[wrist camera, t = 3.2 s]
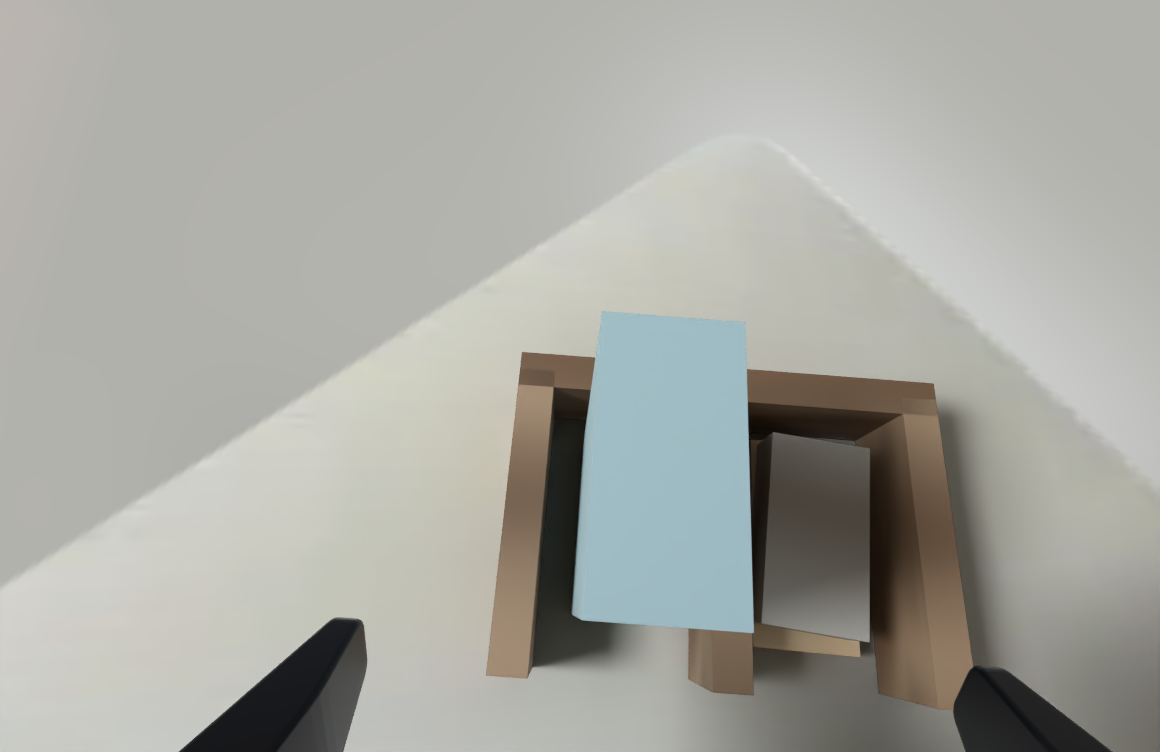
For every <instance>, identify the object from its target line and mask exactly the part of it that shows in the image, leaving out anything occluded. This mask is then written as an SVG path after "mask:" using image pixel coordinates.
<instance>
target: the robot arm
mask: <svg viewBox="0 0 1160 752" xmlns="http://www.w3.org/2000/svg"><path fill="white" fill-rule="evenodd" d="M366 668H367V651H366V641H365V632H364V625H363V622H362V621H361V620H359V619H353V618H340V617H338V618H334V619H332V620H330V621H329V622H328V623H327V624H325V625H324V626H323V627H322V628H321V629H320V630H318V631H317V632H316V633H315V634H314V635H313V636H312V637H310V638H309V639H308V640H307V641H306V642H305V643H303V644H302V645H301V646H300V647H299V648H298V649H297V650H295V651H294V652H293V653H292V654H291V655H290V656H289V657H287V658H286V659H285V660H284V661H283V662H282V663H280V664H279V665H278V666H277V667H276V668H275V669H274V670H272V671H271V672H270V673H269V674H268V675H267V676H265V677H264V678H263V679H262V680H261V681H260V682H259V683H257V684H256V685H255V686H254V687H253V688H252V689H251V690H249V691H248V692H247V693H246V694H245V695H244V696H242V697H241V698H240V699H239V700H238V701H237V702H236V703H234V704H233V705H232V706H231V707H230V708H229V709H227V710H226V711H225V712H224V713H223V714H222V715H221V716H219V717H218V718H217V719H216V720H215V721H214V722H213V723H211V724H210V725H209V726H208V727H207V728H206V729H204V730H203V731H202V732H201V733H200V734H199V735H198V736H196V737H195V738H194V739H193V740H192V741H191V742H189V743H188V744H187V745H186V746H185V747H184V748H183V749H181V750H180V751H179V752H343V750H344V747H345V743H346V740H347V736H348V733H349V730H350V726H351V723H352V719H353V716H354V712H355V709H356V705H357V702H358V698H359V695H360V691H361V688H362V684H363V681H364V677H365V673H366ZM953 713H954V719H955V723H956V725H957V728H958V731H959V734H960V737H961V740H962V743H963V746H964V749H965V751H966V752H1112V751H1111V750H1109V749H1108V748H1107V747H1106V746H1104V745H1103V744H1102V743H1100V742H1099V741H1098V740H1096V739H1095V738H1094V737H1093V736H1091V735H1090V734H1089V733H1087V732H1086V731H1085V730H1084V729H1082V728H1081V727H1080V726H1078V725H1077V724H1076V723H1074V722H1073V721H1072V720H1071V719H1069V718H1068V717H1067V716H1065V715H1064V714H1063V713H1061V712H1060V711H1059V710H1058V709H1056V708H1055V707H1054V706H1052V705H1051V704H1050V703H1049V702H1047V701H1046V700H1045V699H1043V698H1042V697H1041V696H1039V695H1038V694H1037V693H1036V692H1034V691H1033V690H1032V689H1030V688H1029V687H1028V686H1026V685H1025V684H1024V683H1023V682H1021V681H1020V680H1019V679H1017V678H1016V677H1015V676H1014V675H1012V674H1011V673H1009V672H1008V671H1007V670H1005V669H1002V668H998V667H986V666H974V667H973V668H971V669H970V670H969V672H968V674H967V676H966V678H965V680H964V682H963V684H962V686H961V688H960V691H959V693H958V695H957V697H956V699H955V702H954V707H953Z"/></svg>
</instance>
